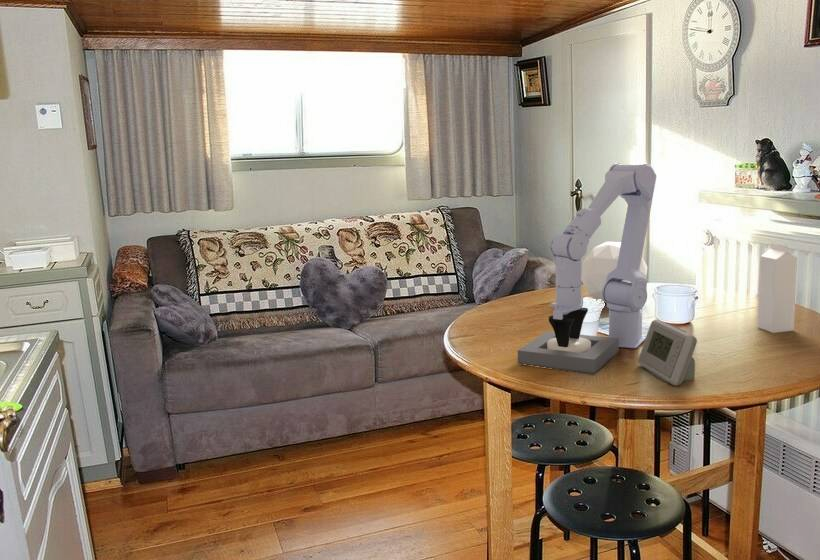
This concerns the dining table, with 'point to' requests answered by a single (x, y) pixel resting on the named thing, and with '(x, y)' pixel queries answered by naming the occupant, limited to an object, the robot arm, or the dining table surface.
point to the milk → (777, 289)
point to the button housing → (569, 354)
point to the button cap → (571, 345)
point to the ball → (602, 267)
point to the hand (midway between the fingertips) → (568, 342)
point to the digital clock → (668, 353)
